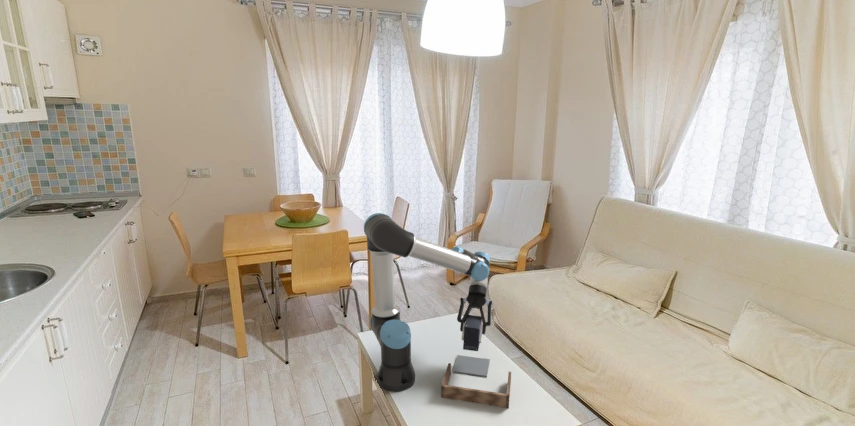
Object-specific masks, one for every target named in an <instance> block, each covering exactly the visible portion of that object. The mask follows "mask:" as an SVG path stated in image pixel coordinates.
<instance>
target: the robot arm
mask: <svg viewBox="0 0 855 426" xmlns="http://www.w3.org/2000/svg"><path fill="white" fill-rule="evenodd" d="M363 231H364V235H365V236H366V245H367V250H368V251H369V252H370V254H371V263H372V264H371V265H372V279H373V295H374V306H373V308H372V309H371V316H370V320H369V321H370V322H369V323H370V328H371V331H372V333H373V334H374V336H375V338H376V340H377V342H378V345H379V346H380V355H381V356H380V358H381V361H380V362H381V363H380V366H379V369H378V372H377V376H376V377H377V385H378V386H379V387H380V388H381V389H383V390H386V391H389V392H402V391H405V390H408V389H409V388H411V387H412V386H413V385H414V384H415V382H416V371H415V369H414V366H413V362H412V354H411V353H412V350H411V349H412V344H411V343H412V333H411V327H410V326H409V324H408V323H407V322H405V321H404V320H403V321H402V319H401V309H400V307H399V305H398V304H397V303H396V302H397V301H396V300H397V299H396V286H395V285H396V284H395V283H396V281H395V264H394V261H395V260H394V255H395V256H399V257H402V258H407V257H411V258H414V259H416V260H417V259H418V260H420V261H423V262H426V263H429V264H432V265H435V266H438V267H440V268H441V267H442V268H445V269H447V270H451V271H453V272H456V273H460V274H463V275H466V276H468V277H470V278H469V287H468V292H467V293H468V294H467V296H466V297H464V298H463V297H460V299H459V301H460V304H459V309H458V312H457V317H456V318H457V319H456V321H457V322H458V323H460V328H459V330H460V332H461V340H462V341H464V325H465V322H466V318H467V316H468V315H470V313H471V312H472V310H473V309H478V310H479V312H480V316H481V318H482V325H481V329H480V337H479V342H480V344H482V341H483V335H485V334H486V330H487V327H489V326H492V325H491V324H492V322H491V321H492V307H493V301H492V300H488V299H487V292H488V291H487V289H488V282H489V275H490V266H491V256H490V254H488V253H487V252H485V251H484V252H483V251H475V252H471V251H469V250H467V249H465V248H463V247H461V246H458V245H457V246H453V247H452V248H451V249H450V248H447V247H444V246H442V245H439V244H436V243H434V242H431V241H427V240H425V239H422V238H420V237H416V236H415V233H413V232H411V231H408V230H406V229H404V228H402V227H401V226H400V225H399V224H398V223H396V222H395V221H394V220H393V219H392V217H390V215H388V214H386V213H381V212H375V213H372V214H371V215H369V216H367V218H366V219H365V221H364V224H363ZM466 303H468V306H467V308H466V310H465V312H464V309H465V308H464V307H465V304H466ZM485 305H486V306H487V321H486V319H485V318H486V317H485V314H484V313H485V312H484V310H483V309H484V308H483V307H484V306H485ZM463 313H464V315H463ZM462 316H463V317H462Z"/></svg>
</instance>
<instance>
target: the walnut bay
mask: <svg viewBox="0 0 855 426" xmlns="http://www.w3.org/2000/svg"><path fill="white" fill-rule="evenodd" d="M451 374H452V363H450V362H449V363H447V367H446V370H445V373H444V376H443V378H442V382H441V385H440V398H442V399H448V400H453V401H454V400H456V401H461V402H467V403H472V404H473V403H474V404H479V405H484V406H485V405H487V406H493V407H499V408H500V407H501V408H505V409H506V408H507V409H509V408H510V407H509V405H510V395H511V394H510V393H511V382H512V381H511V380H512V371H508V374H507V376H508V377H507V388H506V393H504V392H503V393H501V392H497V391H496V392H495V391H488V390H483V389H475V388H469V387H462V386H457V385H456V386H455V385H449V382H450V379H451Z"/></svg>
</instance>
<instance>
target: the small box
mask: <svg viewBox="0 0 855 426" xmlns="http://www.w3.org/2000/svg"><path fill="white" fill-rule="evenodd" d="M481 325H483V322H482V318H481V315H480V316H479V315H472V314H469V315H468V316H467V318H466V321H465V325H464V340H463V343H462V344H463V346H462V349H463V350H465V351H472V352H478V351H479V349H480V344H481V343H480V342H479V337H480V329H481Z"/></svg>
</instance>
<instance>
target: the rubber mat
mask: <svg viewBox="0 0 855 426" xmlns="http://www.w3.org/2000/svg"><path fill="white" fill-rule="evenodd" d="M490 360H491V359H489V358H481V357H474V356H468V355H460V354H457V356H456V360H455V363H454V366H453V370H452V373H454V374H455V373H456V374H461V375H462V374H463V375H469V376H470V375H471V376H476V377H482V378H483V377H484V378H487V377H488V372H489V367H490Z"/></svg>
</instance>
